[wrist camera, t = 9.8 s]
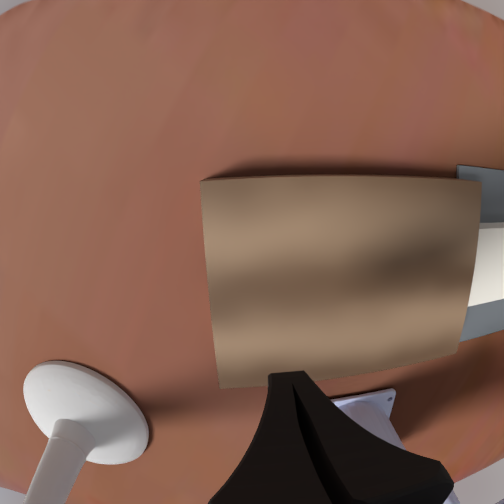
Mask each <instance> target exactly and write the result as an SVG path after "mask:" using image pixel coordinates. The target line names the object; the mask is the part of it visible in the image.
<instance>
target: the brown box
mask: <svg viewBox="0 0 504 504" xmlns="http://www.w3.org/2000/svg"><path fill="white" fill-rule="evenodd" d="M200 191H201V206H202V220H203V233H204V246H205V258H206V269H207V280H208V291H209V301H210V311H211V320H212V330H213V339H214V347H215V356H216V364H217V372H218V380H219V388H220V389H224V388H244V387H259V386H268V375H269V374H270V373H279V372H291V371H302V370H304V371H305V372H306V373H307V374H308V375H309V377H310V378H311V379H312V380H313V381H319V380H327V379H334V378H341V377H347V376H354V375H360V374H365V373H371V372H377V371H382V370H387V369H392V368H397V367H402V366H407V365H411V364H416V363H420V362H424V361H428V360H433V359H437V358H441V357H444V356H448V355H452V354H456V352H457V349H458V345H459V341H460V337H461V333H462V329H463V325H464V321H465V316H466V312H467V307H468V302H469V297H470V292H471V286H472V280H473V274H474V268H475V261H476V253H477V245H478V236H479V225H480V212H481V194H482V182H479V181H472V180H465V179H458V178H444V177H427V176H405V175H371V174H301V175H266V176H243V177H225V178H209V179H203V180H201V181H200Z"/></svg>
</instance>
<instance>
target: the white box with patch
mask: <svg viewBox="0 0 504 504" xmlns="http://www.w3.org/2000/svg"><path fill="white" fill-rule="evenodd" d="M500 299H504V222H497V223H480V225H479V236H478V245H477V253H476V261H475V268H474V274H473V280H472V286H471V292H470V297H469V302H468V307H469V306H474V305H478V304H483V303H487V302H492V301H496V300H500Z"/></svg>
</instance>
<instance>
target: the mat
mask: <svg viewBox="0 0 504 504" xmlns="http://www.w3.org/2000/svg"><path fill="white" fill-rule="evenodd" d="M457 178H458V179H465V180H472V181H479V182H482V194H481V212H480V223H497V222H504V171H503V170H496V169H488V168H480V167H471V166H462V165H457ZM500 330H504V299H500V300H496V301H492V302H487V303H483V304H478V305H474V306H469V307H467V312H466V316H465V321H464V325H463V329H462V333H461V337H460V341H459V342H462V341H466V340H469V339H473V338H477V337H480V336H484V335H487V334H491V333H494V332H497V331H500Z"/></svg>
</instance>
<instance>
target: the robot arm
mask: <svg viewBox="0 0 504 504" xmlns="http://www.w3.org/2000/svg"><path fill="white" fill-rule="evenodd" d="M395 395H396V391H395V390H394V389H393V388H391V389H386V390H381V391H376V392H371V393H366V394H361V395H355V396H350V397H344V398H338V399H331V400H330V399H329V398H328V397H327V396H326V395H325V394H324V393H323V392H322V391H321V389H320V388H319V387H318V386H317V385H316V384H315V383H314V381H313V380H312V379H311V378H310V377H309V375H308V374H307V373H306V372H305V371H304V370H302V371H291V372H279V373H270V374H269V375H268V394H267V399H266V404H265V408H264V411H263V414H262V417H261V420H260V423H259V426H258V428H257V431H256V433H255V435H254V438H253V440H252V442H251V444H250V446H249V448H248V449H247V451H246V453H245V455H244V457H243V458H242V460H241V462H240V463H239V465H238V466H237V468H236V469H235V470H234V472H233V473H232V475H231V476H230V477H229V479H228V480H227V481H226V483H225V484H224V485H223V486H222V487H221V488H220V490H219V491H218V492H217V493H216V494H215V495H214V496H213V497H212V498H211V499H210V501H209V502H208V504H460V502H459V500H458V498H457V496H456V495H455V493H454V491H453V487H454V482H453V480H452V479H451V477H450V475H449V473H448V472H447V470H446V469H445V468H444V466H443V465H442V464H441V462H440V461H437V460H433V459H430V458H426V457H423V456H420V455H416V454H414V453H411V452H409V451H406V449H405V447H404V446H403V444H402V442H401V440H400V438H399V436H398V435H397V433H396V431H395V429H394V427H393V426H392V424H391V422H390V420H389V417H390V414H391V410H392V407H393V403H394V399H395ZM388 398H389V399H388ZM496 504H504V499H502V500H501V501H499V502H498V503H496Z"/></svg>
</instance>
